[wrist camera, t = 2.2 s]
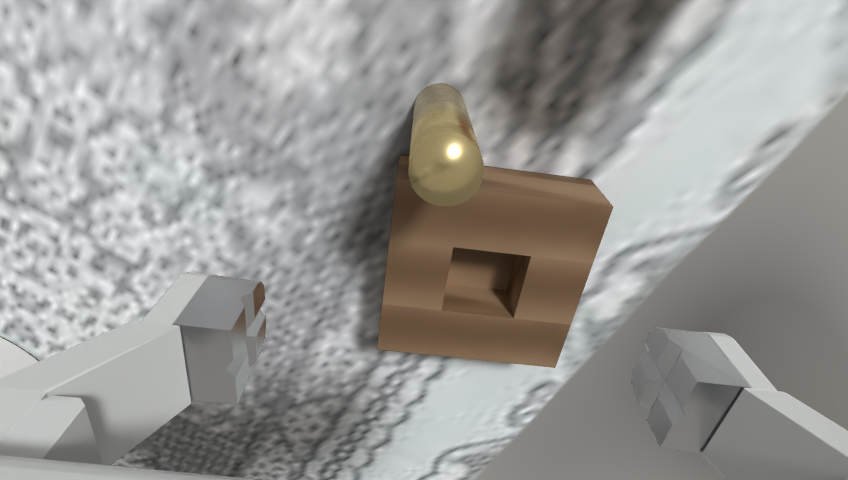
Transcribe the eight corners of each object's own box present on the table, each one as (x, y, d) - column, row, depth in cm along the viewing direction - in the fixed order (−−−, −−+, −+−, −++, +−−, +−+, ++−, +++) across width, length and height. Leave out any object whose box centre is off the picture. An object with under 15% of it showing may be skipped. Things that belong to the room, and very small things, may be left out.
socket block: (542, 329, 35) (555, 367, 32) (381, 311, 35) (377, 349, 31) (590, 179, 30) (613, 206, 26) (399, 154, 29) (396, 179, 25)
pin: (460, 138, 28) (476, 210, 20) (410, 131, 28) (404, 201, 19) (469, 87, 27) (491, 140, 18) (417, 79, 27) (413, 129, 18)
